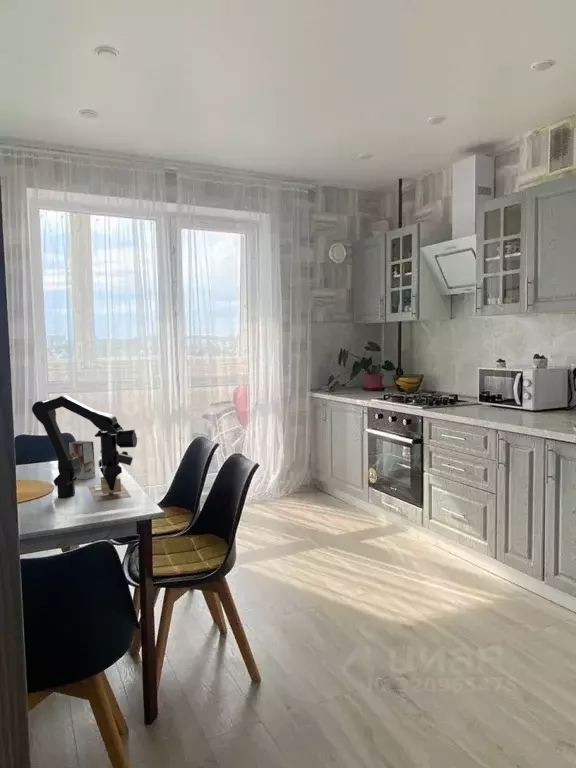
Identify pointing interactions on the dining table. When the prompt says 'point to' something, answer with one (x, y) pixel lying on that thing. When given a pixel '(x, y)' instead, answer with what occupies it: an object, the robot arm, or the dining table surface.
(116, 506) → the dining table surface
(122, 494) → the board
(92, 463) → the coffee box
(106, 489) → the collar
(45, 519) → the dining table surface
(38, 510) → the dining table surface
